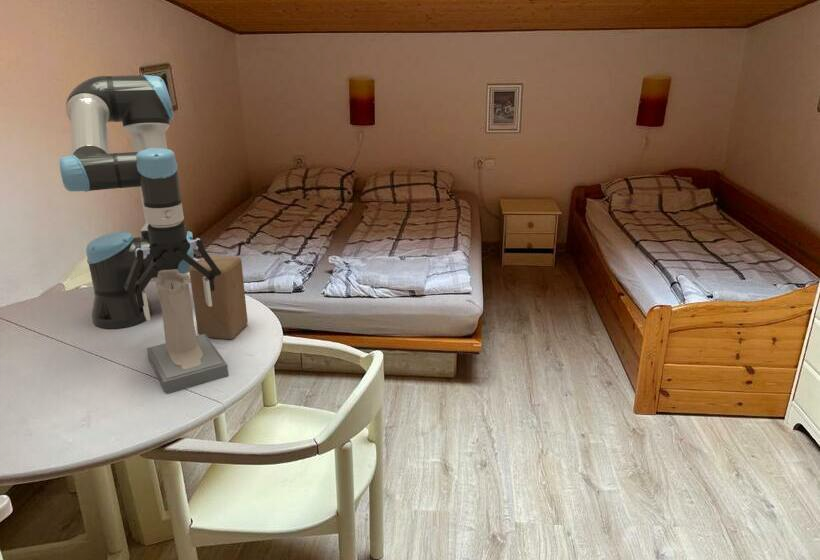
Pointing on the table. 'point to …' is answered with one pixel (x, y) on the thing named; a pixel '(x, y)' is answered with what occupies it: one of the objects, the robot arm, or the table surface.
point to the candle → (178, 319)
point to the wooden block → (220, 299)
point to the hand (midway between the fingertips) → (179, 311)
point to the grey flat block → (184, 378)
